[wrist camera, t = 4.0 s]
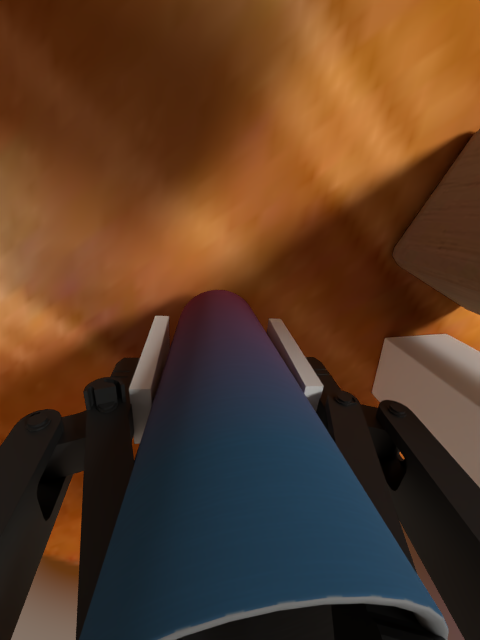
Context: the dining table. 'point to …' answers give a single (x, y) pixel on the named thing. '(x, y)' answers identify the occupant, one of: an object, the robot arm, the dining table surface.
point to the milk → (436, 390)
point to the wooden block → (449, 233)
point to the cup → (242, 504)
